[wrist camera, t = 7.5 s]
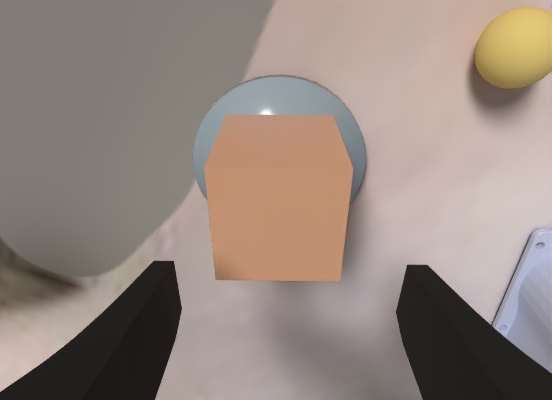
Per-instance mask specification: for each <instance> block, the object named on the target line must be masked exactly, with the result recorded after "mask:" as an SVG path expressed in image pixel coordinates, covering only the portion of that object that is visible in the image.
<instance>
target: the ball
mask: <svg viewBox="0 0 552 400" xmlns="http://www.w3.org/2000/svg"><path fill="white" fill-rule="evenodd" d="M475 63H476V67H477V69H478V71H479V73H480V74H481V76H482V77H483V78H484V79H485V80H486V81H487V82H489V83H490V84H492V85H494V86H497V87H500V88H507V89H516V88H522V87H526V86H529V85H531V84H534V83H536V82H538V81H539V80H541V79H542V78H544V77H545V76H546V75H548V74H549V73H550V72H551V71H552V13H550V12H549V11H547V10H545V9H541V8H537V7H521V8H516V9H513V10H510V11H508V12H505V13H503V14H502V15H500V16H498V17H497V18H496V19H494V20H493V21H492V22H491V23H490V24H489V25H488V26H487V27H486V28H485V30H484V31H483V32H482V34H481V36H480V37H479V40H478V42H477V45H476V49H475Z"/></svg>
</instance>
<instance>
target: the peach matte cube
mask: <svg viewBox="0 0 552 400" xmlns="http://www.w3.org/2000/svg"><path fill="white" fill-rule="evenodd" d="M204 171H205V181H206V190H207V200H208V210H209V219H210V229H211V239H212V248H213V258H214V267H215V277H216V280H265V281H340V278H341V269H342V261H343V252H344V244H345V235H346V227H347V218H348V210H349V202H350V193H351V185H352V176H353V166H352V164H351V161H350V158H349V156H348V153H347V150H346V148H345V145H344V142H343V140H342V137H341V134H340V132H339V129H338V126H337V124H336V121H335V118H334V116H333V115H249V114H226V116H225V119H224V121H223V124H222V126H221V128H220V131H219V133H218V135H217V138H216V140H215V143H214V145H213V147H212V150H211V152H210V155H209V157H208V159H207V162H206V164H205V167H204Z"/></svg>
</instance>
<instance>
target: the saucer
mask: <svg viewBox="0 0 552 400" xmlns="http://www.w3.org/2000/svg"><path fill="white" fill-rule="evenodd" d="M226 114H249V115H333V116H334V118H335V121H336V124H337V126H338V129H339V132H340V134H341V137H342V140H343V142H344V145H345V148H346V150H347V153H348V156H349V158H350V161H351V164H352V166H353V176H352V185H351V193H350V202H349V204H350V203H351V201H352V200H353V199H354V197H355V195H356V194H357V192H358V190H359V188H360V185H361V182H362V180H363V176H364V172H365V165H366V151H365V144H364V140H363V136H362V133H361V131H360V128H359V126H358V124H357V122H356V120H355V118H354V116H353V115H352V113H351V111H350V110H349V109H348V107H347V106H346V105H345V104H344V102H343V101H342V100H340V99H339V98H338V97H337V96H336V95H335V94H334V93H332V92H331V91H330V90H328V89H327V88H325V87H323V86H321V85H320V84H318V83H316V82H313V81H310V80H308V79H305V78H301V77H296V76H289V75H268V76H263V77H258V78H254V79H251V80H248V81H245V82H243V83H241V84H239V85H237V86H235V87H234V88H232V89H231V90H229V91H228V92H226V93H225V94H224V95H223V96H222V97H221V98H219V99H218V100H217V101H216V102H215V104H214V105H213V106H212V107H211V109H210V110H209V111H208V113H207V115H206V116H205V118H204V120H203V121H202V123H201V125H200V128H199V130H198V133H197V135H196V139H195V143H194V151H193V166H194V172H195V176H196V179H197V182H198V185H199V187H200V189H201V191H202V193H203V195H204V197H205V198H206V200H207V190H206V181H205V171H204V167H205V164H206V162H207V159H208V157H209V155H210V152H211V150H212V147H213V145H214V143H215V140H216V138H217V135H218V133H219V131H220V128H221V126H222V124H223V121H224V119H225V116H226ZM207 201H208V200H207Z"/></svg>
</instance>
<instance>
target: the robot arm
mask: <svg viewBox="0 0 552 400" xmlns="http://www.w3.org/2000/svg"><path fill="white" fill-rule="evenodd" d="M538 243H539V244H538ZM536 244H538V245H536ZM181 310H182V307H181V301H180V295H179V289H178V283H177V277H176V271H175V265H174V261H154V262H152V263H151V264H150V265H149V266H148V267H147V268H146V269H145V270H144V271H143V272H142V274H141V275H140V276H139V277H138V278H137V279H136V280H135V281H134V282H133V283H132V284H131V285H130V286H129V287H128V288H127V289H126V290H125V291H124V292H123V293H122V294H121V295H120V296H119V297H118V298H117V299H116V300H115V301H114V302H113V303H112V304H111V305H110V306H109V307H108V308H107V309H106V310H105V311H104V312H103V313H101V314H100V315H99V316H98V317H97V318H96V319H95V320H94V321H93V322H92V323H90V324H89V325H88V326H87V327H86V328H85V329H84V330H83V331H82V332H80V333H79V334H78V335H77V336H76V337H75V338H73V339H72V340H71V341H70V342H69V343H67V344H66V345H65V346H64V347H62V348H61V349H60V350H59V351H57V352H56V353H55V354H53V355H52V356H51V357H50V358H48V359H47V360H46V361H44V362H43V363H42V364H40V365H39V366H37V367H36V368H34V369H33V370H32V371H30V372H29V373H27V374H26V375H24V376H23V377H21V378H20V379H19V380H17V381H16V382H14V383H13V384H11V385H10V386H8V387H7V388H5V389H4V390H3V391H1V392H0V400H155V398H156V395H157V392H158V389H159V386H160V383H161V380H162V377H163V374H164V371H165V369H166V366H167V363H168V360H169V357H170V354H171V351H172V348H173V345H174V342H175V339H176V334H177V330H178V325H179V320H180V315H181ZM396 314H397V319H398V324H399V328H400V333H401V337H402V341H403V345H404V348H405V351H406V354H407V356H408V359H409V362H410V365H411V368H412V370H413V373H414V376H415V379H416V381H417V384H418V387H419V390H420V392H421V395H422V398H423V400H552V229H544V228H543V229H538V230H536V231H534V232H533V233H532V235H531V237H530V239H529V242H528V244H527V246H526V249H525V251H524V253H523V255H522V258H521V260H520V262H519V265H518V267H517V269H516V272H515V274H514V276H513V279H512V281H511V283H510V286H509V288H508V290H507V293H506V295H505V297H504V300H503V302H502V304H501V306H500V309H499V311H498V313H497V316H496V318H495V320H494V323H493V325H492V326H491V325H490V324H489V323H488V322H487V321H486V320H485V319H483V318H482V317H481V316H480V315H479V314H478V313H477V312H476V311H475V310H474V309H473V308H471V307H470V306H469V305H468V304H467V303H466V302H465V301H464V300H463V299H462V298H461V297H460V296H459V295H458V294H457V293H456V292H455V291H454V290H453V289H452V288H451V287H450V286H448V285H447V284H446V283H445V282H444V281H443V280H442V279H441V278H440V277H439V276H438V275H437V274H436V273H435V272H434V271H433V270H432V269H431V268H430V267H429V266H428V265H407V268H406V272H405V276H404V281H403V285H402V289H401V294H400V298H399V302H398V306H397V311H396Z"/></svg>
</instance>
